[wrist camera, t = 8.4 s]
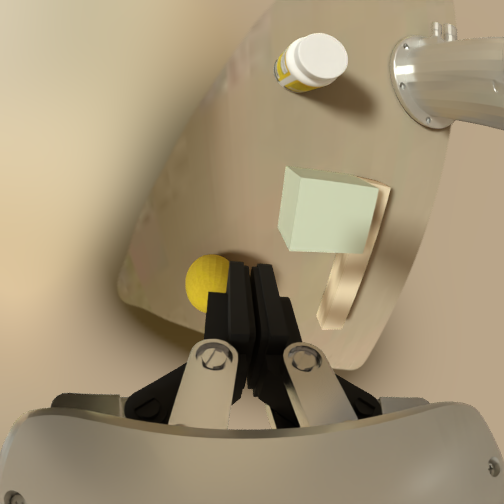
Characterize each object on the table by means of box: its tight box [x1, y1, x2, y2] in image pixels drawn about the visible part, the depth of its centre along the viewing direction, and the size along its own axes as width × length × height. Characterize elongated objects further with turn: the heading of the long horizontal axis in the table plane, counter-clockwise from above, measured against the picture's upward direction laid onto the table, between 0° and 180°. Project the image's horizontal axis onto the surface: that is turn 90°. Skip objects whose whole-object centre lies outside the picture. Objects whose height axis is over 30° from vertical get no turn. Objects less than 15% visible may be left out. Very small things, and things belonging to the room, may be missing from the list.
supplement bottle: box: [274, 33, 348, 93], centre depth 19 cm, size 5×5×8 cm
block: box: [278, 166, 379, 254], centre depth 27 cm, size 7×8×6 cm
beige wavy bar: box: [316, 176, 391, 330], centre depth 32 cm, size 20×3×3 cm, turn 172°
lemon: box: [186, 254, 229, 313], centre depth 29 cm, size 6×6×8 cm
